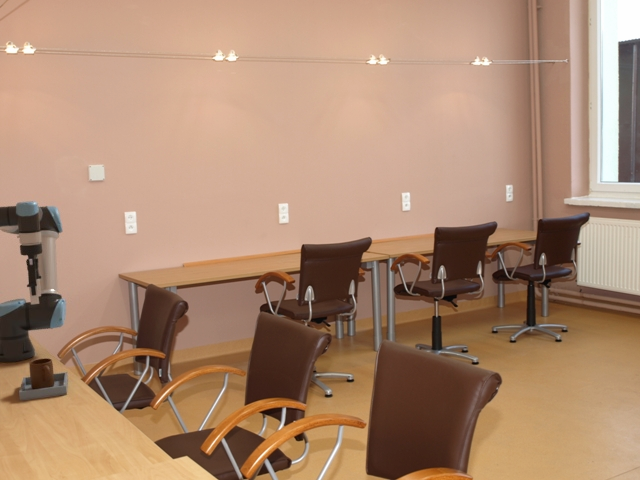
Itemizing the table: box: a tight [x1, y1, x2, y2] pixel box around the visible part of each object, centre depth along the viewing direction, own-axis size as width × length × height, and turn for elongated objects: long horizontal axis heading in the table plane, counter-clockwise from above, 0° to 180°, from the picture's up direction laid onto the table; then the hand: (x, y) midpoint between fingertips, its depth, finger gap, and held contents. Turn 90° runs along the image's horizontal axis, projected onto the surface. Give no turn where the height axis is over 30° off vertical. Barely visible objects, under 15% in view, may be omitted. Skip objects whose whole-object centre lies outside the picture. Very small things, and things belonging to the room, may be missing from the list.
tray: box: [18, 371, 69, 402], centre depth 249 cm, size 17×15×3 cm
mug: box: [28, 357, 55, 390], centre depth 248 cm, size 12×8×9 cm, turn 37°
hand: (36, 300), depth 267 cm, fingers open, 13 cm apart
